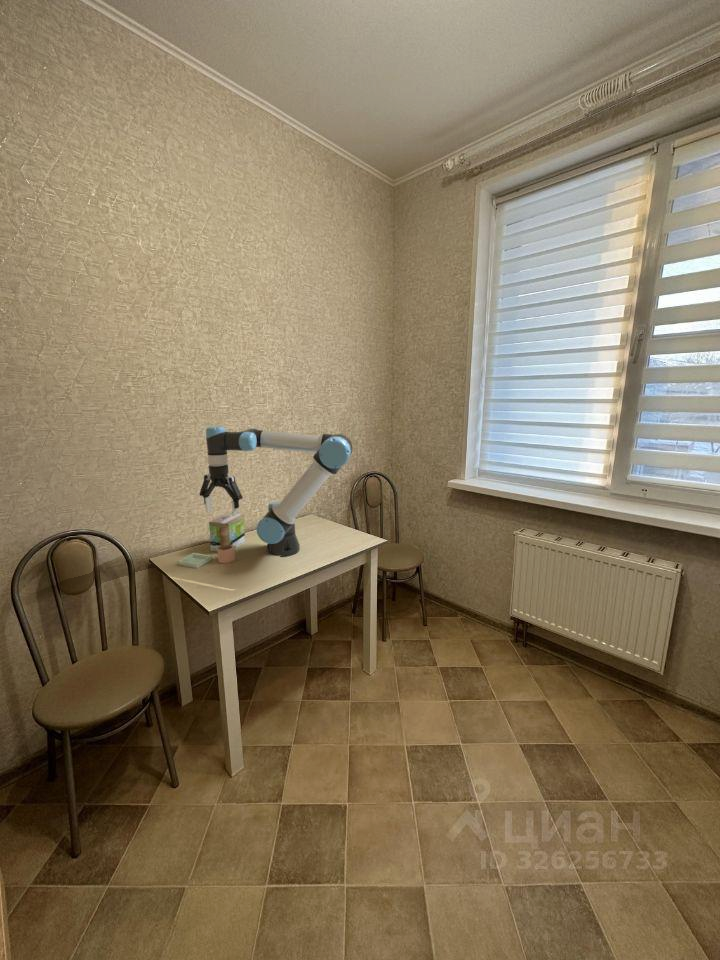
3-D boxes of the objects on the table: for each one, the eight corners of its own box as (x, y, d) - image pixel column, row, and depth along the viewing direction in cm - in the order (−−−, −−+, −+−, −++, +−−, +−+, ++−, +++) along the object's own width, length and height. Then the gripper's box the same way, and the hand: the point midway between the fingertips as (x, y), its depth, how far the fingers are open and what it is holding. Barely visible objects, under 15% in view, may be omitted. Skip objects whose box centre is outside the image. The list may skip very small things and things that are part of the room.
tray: (212, 561, 166) (211, 555, 166) (197, 569, 158) (196, 564, 158) (194, 558, 170) (193, 552, 169) (178, 566, 162) (177, 560, 161)
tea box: (230, 553, 174) (227, 523, 171) (210, 552, 176) (207, 521, 173) (246, 541, 189) (244, 513, 185) (227, 540, 191) (225, 512, 187)
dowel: (233, 558, 167) (230, 526, 164) (227, 562, 164) (224, 529, 160) (225, 557, 169) (223, 525, 165) (219, 560, 165) (216, 528, 162)
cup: (237, 559, 168) (236, 545, 167) (228, 565, 162) (226, 551, 161) (225, 557, 170) (224, 543, 169) (215, 563, 164) (214, 549, 163)
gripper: (249, 464, 156) (252, 514, 161) (200, 461, 164) (204, 508, 169) (237, 468, 149) (241, 519, 154) (187, 464, 158) (192, 513, 162)
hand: (222, 513), depth 162 cm, fingers open, 13 cm apart
